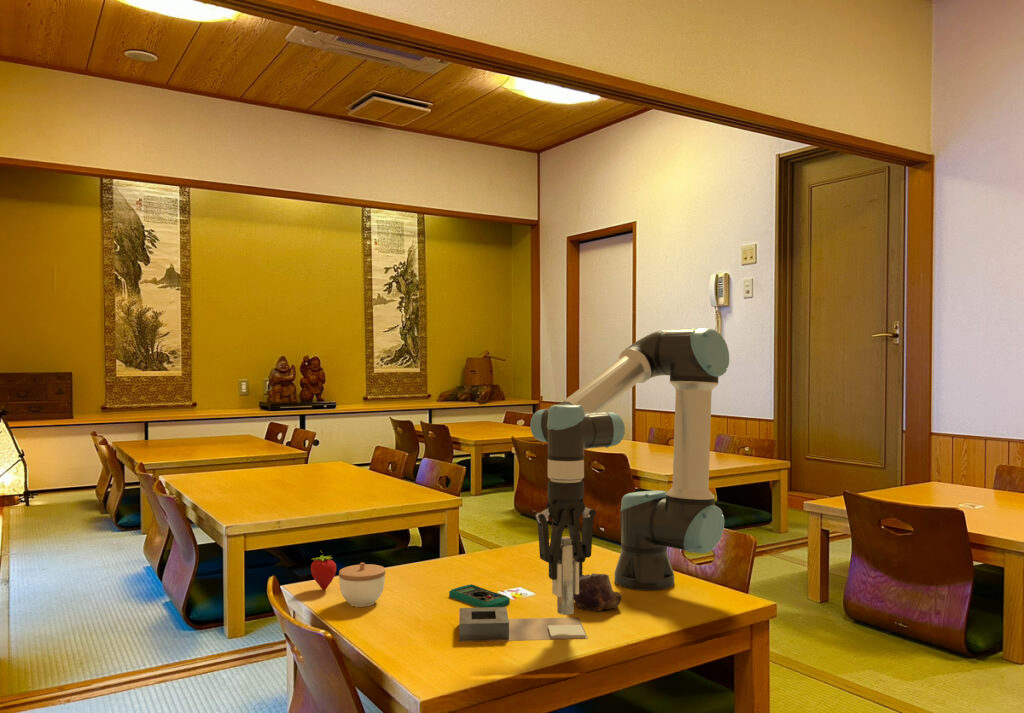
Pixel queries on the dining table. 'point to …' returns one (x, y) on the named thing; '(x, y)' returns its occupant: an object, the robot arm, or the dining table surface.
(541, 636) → the board
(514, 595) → the dining table surface
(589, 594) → the rock
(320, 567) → the strawberry
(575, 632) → the pad
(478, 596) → the digital multimeter
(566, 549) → the silver metal post
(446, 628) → the dining table surface
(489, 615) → the block
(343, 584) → the lidded jar
